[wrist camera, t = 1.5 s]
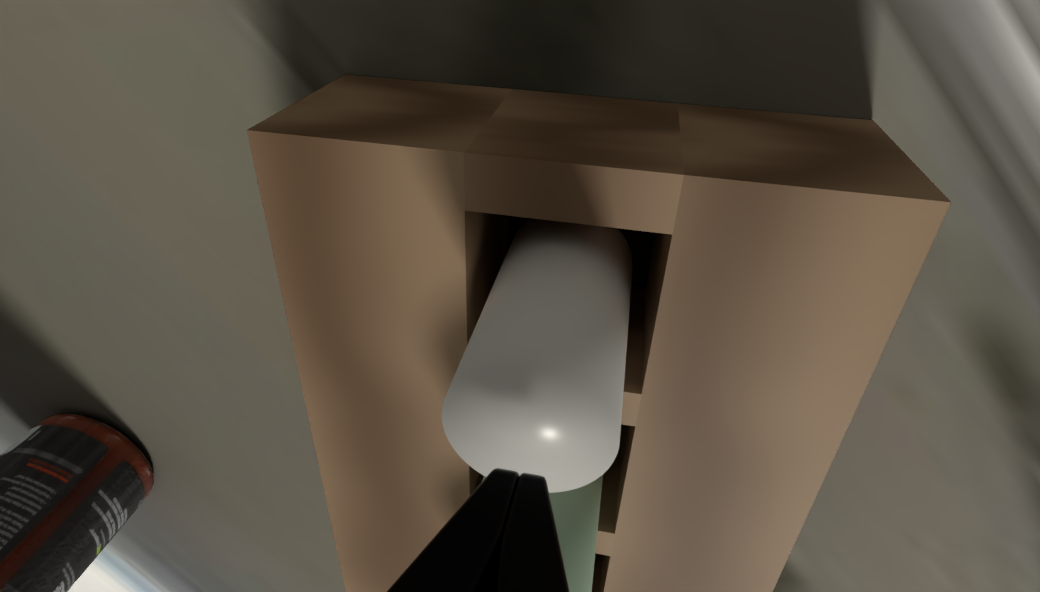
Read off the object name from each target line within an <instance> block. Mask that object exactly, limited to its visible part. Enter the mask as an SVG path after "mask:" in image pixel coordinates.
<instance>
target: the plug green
mask: <svg viewBox="0 0 1040 592" xmlns="http://www.w3.org/2000/svg"><path fill="white" fill-rule="evenodd" d="M485 478H486V477H485V476H484V477H483V480H484V479H485ZM483 480H482V481H483ZM602 481H603V475H602V476H600V477H599V478H598V479H596V480H595V481H593V482H591V483H589V484H587V485H585V486H582V487H580V488H577V489H573V490H569V491H563V492H554V493H549V495H550V500H551V505H552V510H553V515H554V519H555V524H556V529H557V534H558V539H559V543H560V548H561V553H562V558H563V563H564V568H565V572H566V577H567V582H568V587H569V592H592V582H593V572H594V562H595V552H596V542H597V531H598V521H599V511H600V501H601V491H602Z"/></svg>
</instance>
